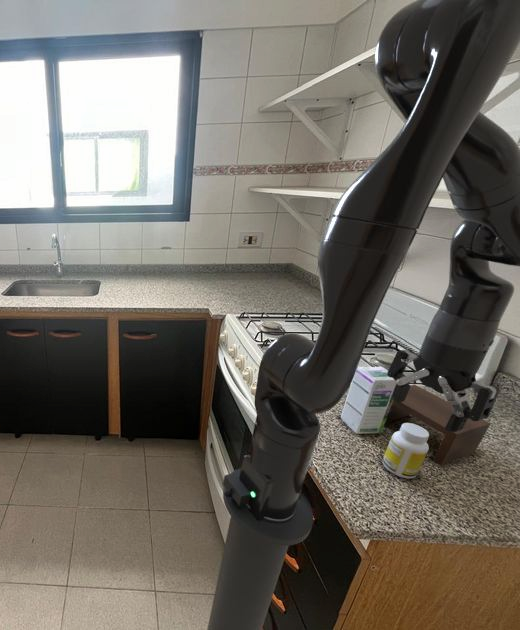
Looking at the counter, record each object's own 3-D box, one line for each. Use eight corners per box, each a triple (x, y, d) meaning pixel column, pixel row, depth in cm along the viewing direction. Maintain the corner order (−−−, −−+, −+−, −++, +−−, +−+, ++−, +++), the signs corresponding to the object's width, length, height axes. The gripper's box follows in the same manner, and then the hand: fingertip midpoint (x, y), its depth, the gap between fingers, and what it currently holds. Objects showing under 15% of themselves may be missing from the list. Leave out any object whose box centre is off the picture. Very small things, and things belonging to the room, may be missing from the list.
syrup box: (356, 434, 77) (376, 380, 72) (339, 417, 83) (356, 365, 77) (381, 434, 78) (403, 380, 72) (362, 416, 83) (381, 364, 77)
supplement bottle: (417, 468, 69) (436, 430, 65) (414, 484, 65) (433, 445, 61) (384, 453, 72) (399, 416, 68) (379, 468, 69) (395, 430, 65)
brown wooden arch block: (441, 465, 70) (457, 434, 66) (372, 420, 82) (383, 392, 79) (474, 453, 72) (491, 423, 69) (402, 411, 84) (414, 384, 81)
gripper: (396, 323, 62) (369, 396, 69) (499, 362, 50) (455, 447, 56) (425, 317, 64) (397, 389, 71) (531, 354, 52) (485, 437, 58)
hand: (422, 415), depth 64 cm, fingers open, 8 cm apart
